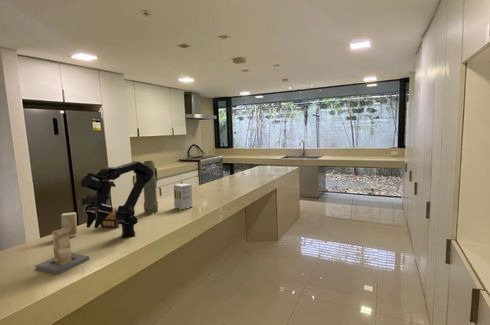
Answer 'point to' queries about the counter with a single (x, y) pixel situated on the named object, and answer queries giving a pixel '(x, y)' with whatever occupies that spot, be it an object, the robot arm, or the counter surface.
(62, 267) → the socket board
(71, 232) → the skincare box
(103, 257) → the counter surface
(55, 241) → the maple peg
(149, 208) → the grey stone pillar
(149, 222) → the counter surface
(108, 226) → the ammunition clip
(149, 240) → the counter surface
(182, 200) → the supplement box
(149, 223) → the counter surface
